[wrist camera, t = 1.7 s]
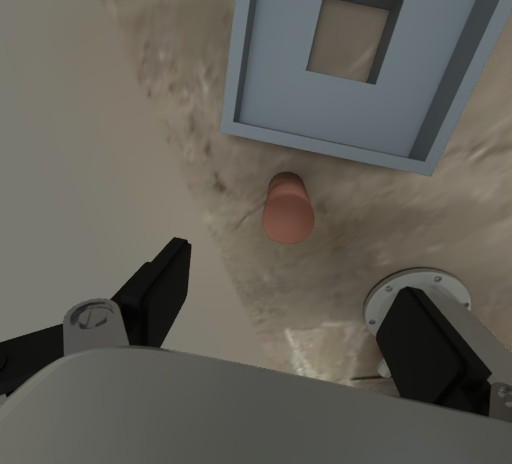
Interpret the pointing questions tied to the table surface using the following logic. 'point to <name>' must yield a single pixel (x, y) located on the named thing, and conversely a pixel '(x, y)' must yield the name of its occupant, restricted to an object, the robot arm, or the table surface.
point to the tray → (354, 92)
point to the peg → (287, 210)
